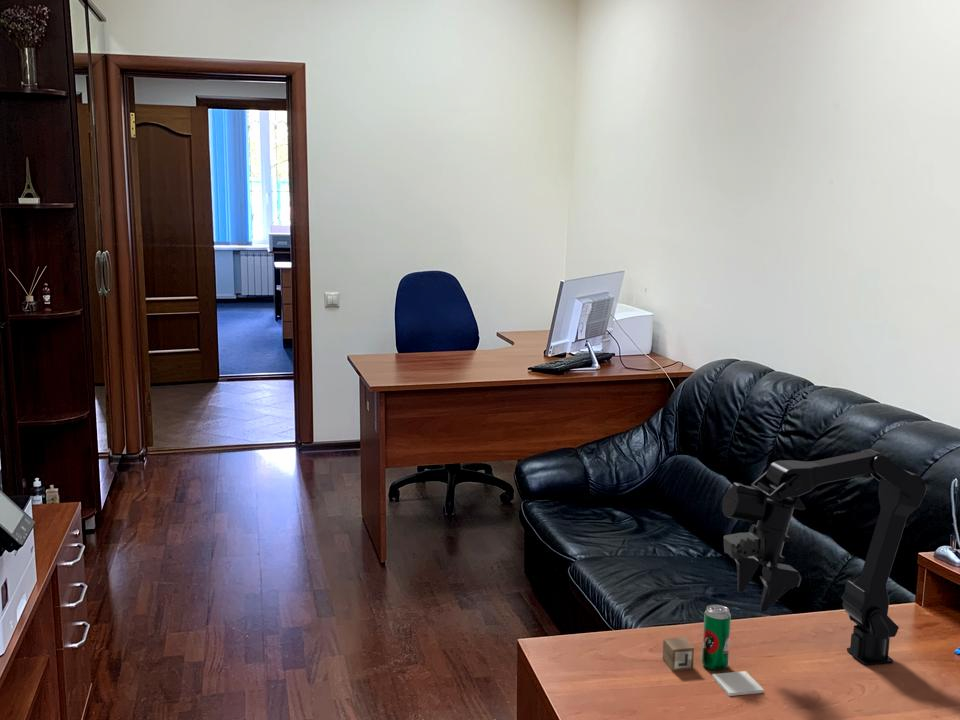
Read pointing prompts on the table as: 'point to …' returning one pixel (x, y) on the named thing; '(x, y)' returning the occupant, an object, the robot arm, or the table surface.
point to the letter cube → (678, 654)
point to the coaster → (737, 683)
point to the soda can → (716, 637)
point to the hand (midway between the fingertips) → (751, 601)
